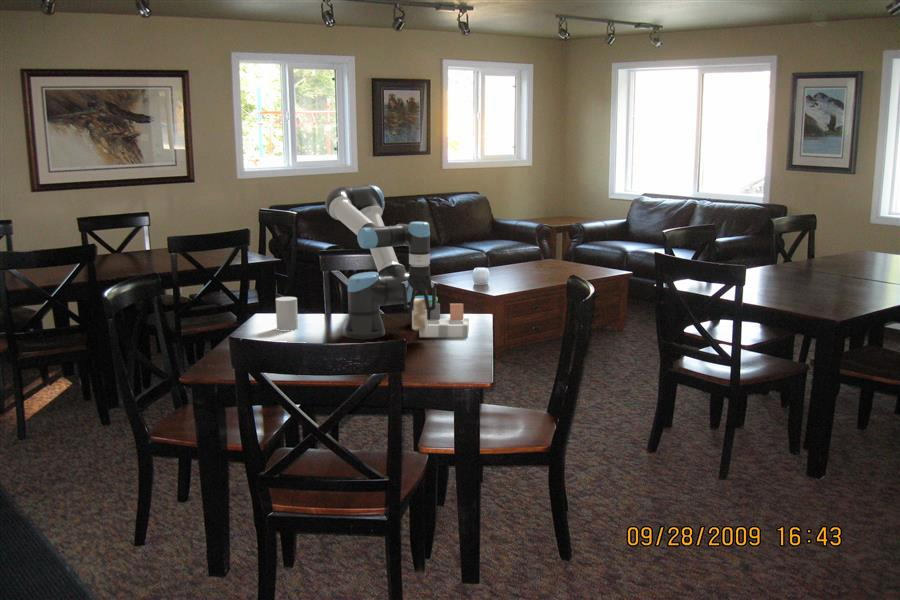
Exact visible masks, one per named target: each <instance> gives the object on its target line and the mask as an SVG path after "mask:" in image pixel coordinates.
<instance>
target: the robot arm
mask: <svg viewBox="0 0 900 600" xmlns="http://www.w3.org/2000/svg"><path fill="white" fill-rule="evenodd" d="M385 205H386V204H385V197H384V193H383V192H382V190H381V189H380V188H379V187H378V186H376V185H373V184H372V185H370V184H364V185H344V186H337V187H336V188H334V189H331V191H330V192H328V194H327V196H326V199H325V205H324V206H325V209H326V212H327V213H328V215H329V216H330V217H332V219H334V220H337V221H340V222H341V223H342V224H343V225H345V226H346V227H347V228H348V229H349V230H350V231H351V232H353V233H354V234H355V235H356V236H357V237H356V238H357V243H358V245H359V247H360V248H361V249H369V250H370V253H371V256H372V258H373V261H374V264H375V267H376V269H377V271H368V272H367V271H364V272H359V273H356V274H352V275H351V276H350V277H349V278H348V280H347V290H346V291H347V300H348V302H347V304H348V316H347V320H346V325H345V328H344V337H345V336H346V338H347V337H349V338H348V339H351V338H353V339H352V340H373V339H378V338H381V337H384V336H385V335H386V331H385V330H386V328H385V325H384V322H383V320H382V318H381V311H380V307H382V306H384V307H385V306H390V305H391V306H392V305H393V306H394V305H403V309H404V310H406V311H408V319H409V320H411V329H412V330H414V309H413V305H414V299H415V296H417V295H416V294H417V292H418V291H420V292H422V294H423V296H424V299H425V304H426V308H427V310H425V329H427V328H428V320H430V318H431V310H434V309H435V307H436V297H437V288H438V286H439V282H438V281H433V280H432V278H431V265H430V264H431V252H430V251H431V244H430V243H431V231H430V228H431V227H430V223H429V222H427V221H411V222H409V223H408V224H407V223H398V224H396V225H388V226H387V225H385V223H384V221H383V219H382V216H383V213H384V212H383V211H384V209H385V207H386V206H385ZM401 246H406V247H408V264H409V265H408V271H407V270H406V267H405V265H403V264H401V263H399V260H398V258H397V256H396V253H395V250H394V247H401ZM430 285H431V288H432V292H431V293H432V295H431V296H432V306H430V303H429V298H428V296H429V293H428V287H429V286H430ZM408 303H409V304H408Z"/></svg>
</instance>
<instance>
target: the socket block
mask: <svg viewBox="0 0 900 600" xmlns="http://www.w3.org/2000/svg"><path fill="white" fill-rule="evenodd" d="M430 306H432V304H430ZM469 321H470V320H469V318H464V303H449V318H441V304H440V303H437V304H436V307H435V309H434V310H431V318H430V320H428V328H427V329H425V330H418V331H419V333H418V335H419V338H469V337H468V336H469V331H470V330H469V327H470V324H469Z"/></svg>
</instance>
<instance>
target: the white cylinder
mask: <svg viewBox="0 0 900 600" xmlns="http://www.w3.org/2000/svg"><path fill="white" fill-rule="evenodd" d="M275 312H276V316H275V317H276V330H277V329H279V330H293V331H296V330H295V329H297V330H298V329H299V320H298V297H296V296H280V297H276V298H275ZM279 330H278V331H279Z"/></svg>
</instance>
